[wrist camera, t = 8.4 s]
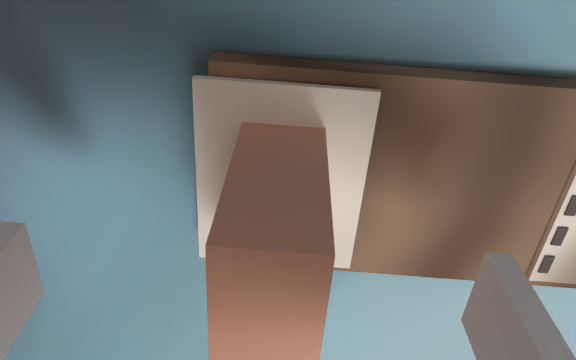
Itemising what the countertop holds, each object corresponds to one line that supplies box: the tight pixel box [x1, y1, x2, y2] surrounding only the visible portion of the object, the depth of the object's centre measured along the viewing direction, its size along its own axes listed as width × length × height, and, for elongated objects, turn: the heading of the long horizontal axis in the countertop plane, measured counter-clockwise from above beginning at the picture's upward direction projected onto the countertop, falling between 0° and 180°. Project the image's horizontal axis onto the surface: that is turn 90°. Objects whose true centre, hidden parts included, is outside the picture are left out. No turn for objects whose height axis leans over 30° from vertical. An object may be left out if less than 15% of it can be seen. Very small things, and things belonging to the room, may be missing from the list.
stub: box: [192, 75, 381, 360], centre depth 15 cm, size 6×8×7 cm
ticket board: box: [208, 51, 576, 288], centre depth 19 cm, size 21×9×2 cm, turn 86°
